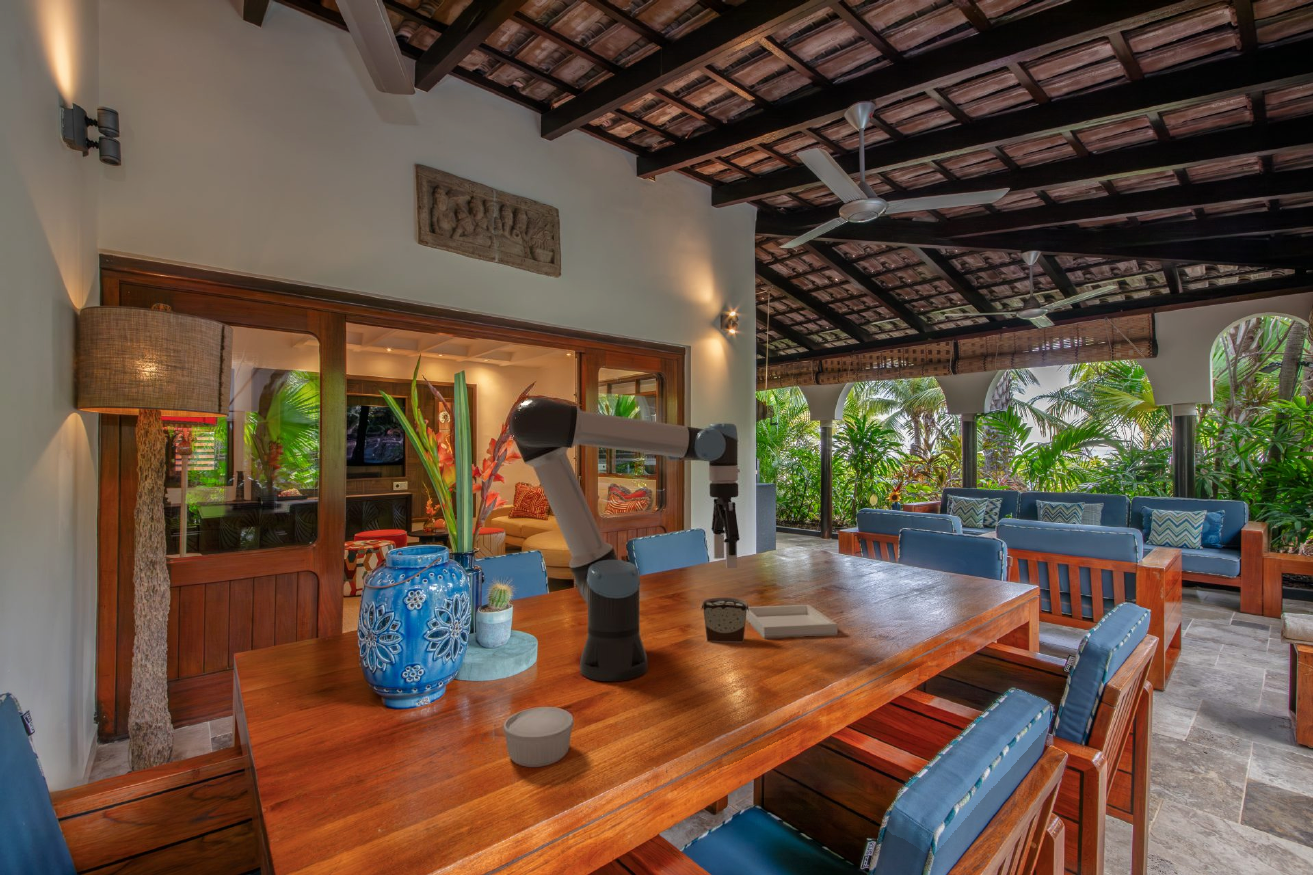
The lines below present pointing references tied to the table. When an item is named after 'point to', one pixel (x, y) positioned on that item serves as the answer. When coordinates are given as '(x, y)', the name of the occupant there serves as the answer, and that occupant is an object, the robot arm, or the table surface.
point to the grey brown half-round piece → (725, 619)
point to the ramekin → (538, 736)
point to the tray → (790, 621)
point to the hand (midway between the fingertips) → (725, 563)
